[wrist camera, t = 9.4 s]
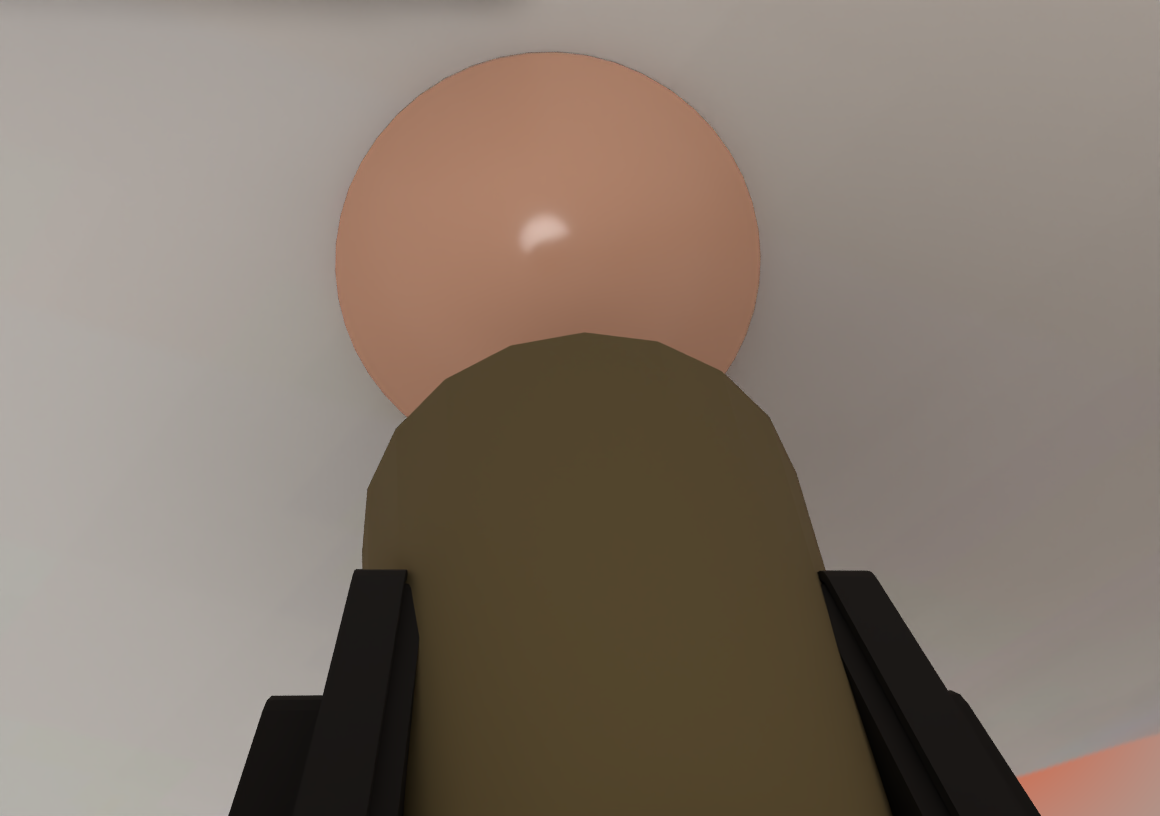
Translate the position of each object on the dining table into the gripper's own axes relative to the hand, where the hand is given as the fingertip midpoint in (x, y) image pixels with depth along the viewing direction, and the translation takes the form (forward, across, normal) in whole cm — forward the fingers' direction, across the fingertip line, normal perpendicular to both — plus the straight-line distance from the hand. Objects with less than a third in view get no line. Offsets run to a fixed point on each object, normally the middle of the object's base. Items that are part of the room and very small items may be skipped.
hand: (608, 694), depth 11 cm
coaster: (+17, 0, 0) cm, 17 cm away
